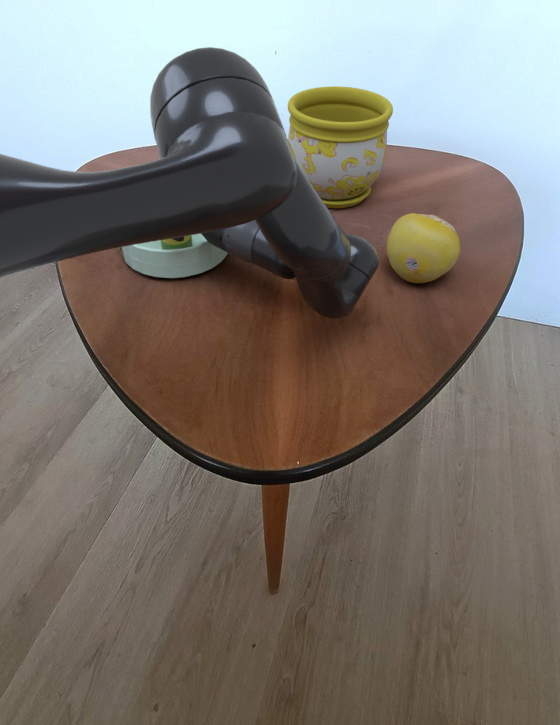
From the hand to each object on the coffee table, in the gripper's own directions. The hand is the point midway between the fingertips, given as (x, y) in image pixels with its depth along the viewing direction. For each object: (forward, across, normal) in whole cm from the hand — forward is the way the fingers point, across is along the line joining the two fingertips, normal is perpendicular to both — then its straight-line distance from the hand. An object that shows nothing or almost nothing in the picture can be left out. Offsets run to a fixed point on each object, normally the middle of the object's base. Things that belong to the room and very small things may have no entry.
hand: (165, 193), depth 84 cm
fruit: (-34, -20, +10) cm, 41 cm away
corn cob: (-1, 0, +9) cm, 9 cm away
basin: (-1, 0, +10) cm, 10 cm away
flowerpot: (-8, -33, +10) cm, 36 cm away
